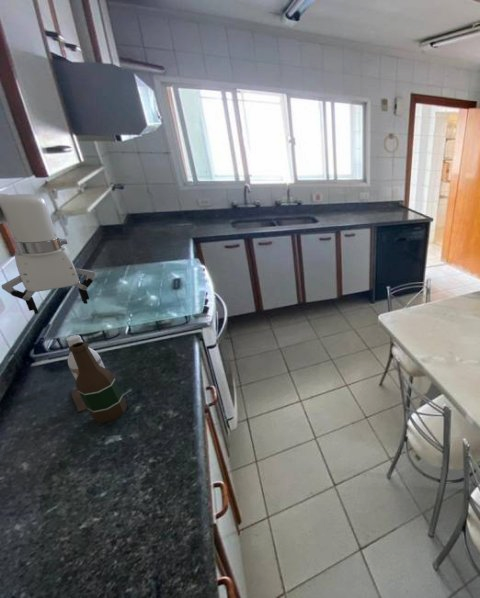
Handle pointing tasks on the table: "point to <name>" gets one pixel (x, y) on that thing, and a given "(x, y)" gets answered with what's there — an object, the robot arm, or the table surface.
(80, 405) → the brown flat square slab
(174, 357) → the table surface
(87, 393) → the beer bottle
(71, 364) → the bath foam
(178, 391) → the table surface
